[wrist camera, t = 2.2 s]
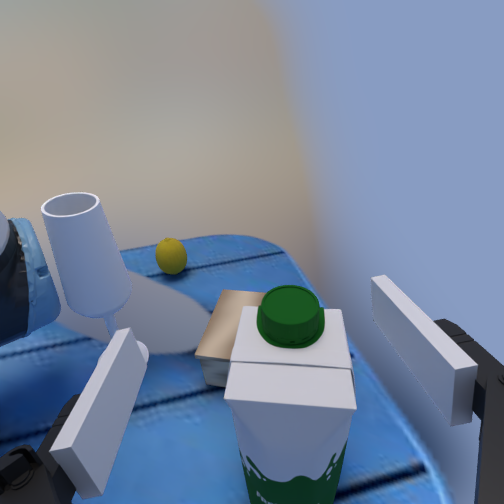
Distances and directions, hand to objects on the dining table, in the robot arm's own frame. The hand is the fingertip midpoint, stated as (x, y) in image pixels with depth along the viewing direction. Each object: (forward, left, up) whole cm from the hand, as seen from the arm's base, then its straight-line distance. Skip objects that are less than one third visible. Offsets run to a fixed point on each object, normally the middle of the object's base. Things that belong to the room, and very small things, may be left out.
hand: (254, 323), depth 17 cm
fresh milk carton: (+2, +2, -23) cm, 23 cm away
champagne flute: (-22, +11, -22) cm, 33 cm away
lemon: (-23, +31, -23) cm, 45 cm away
